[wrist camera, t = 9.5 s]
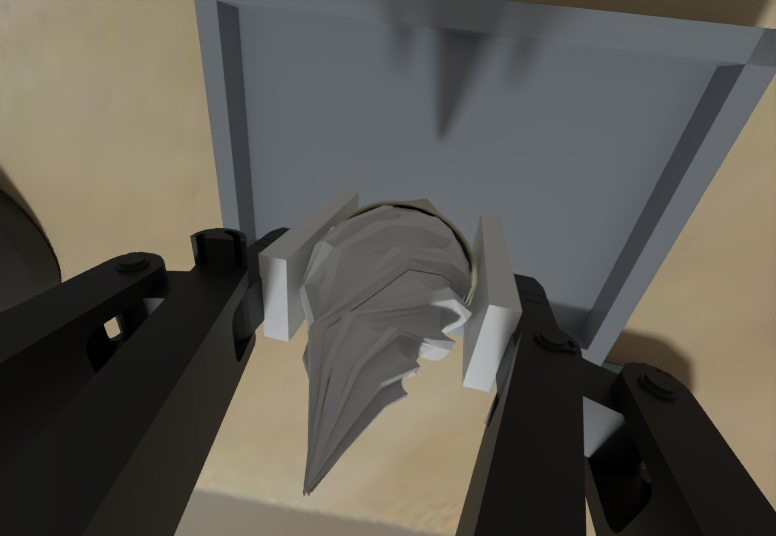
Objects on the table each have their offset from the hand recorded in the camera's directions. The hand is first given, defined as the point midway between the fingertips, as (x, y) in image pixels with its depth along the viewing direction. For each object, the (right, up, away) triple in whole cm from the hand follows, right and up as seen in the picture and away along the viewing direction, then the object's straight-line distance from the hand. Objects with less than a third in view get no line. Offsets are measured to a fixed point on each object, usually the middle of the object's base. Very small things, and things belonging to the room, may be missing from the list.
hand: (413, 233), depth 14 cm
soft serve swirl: (+1, +2, +4) cm, 4 cm away
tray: (+2, +4, +7) cm, 8 cm away
